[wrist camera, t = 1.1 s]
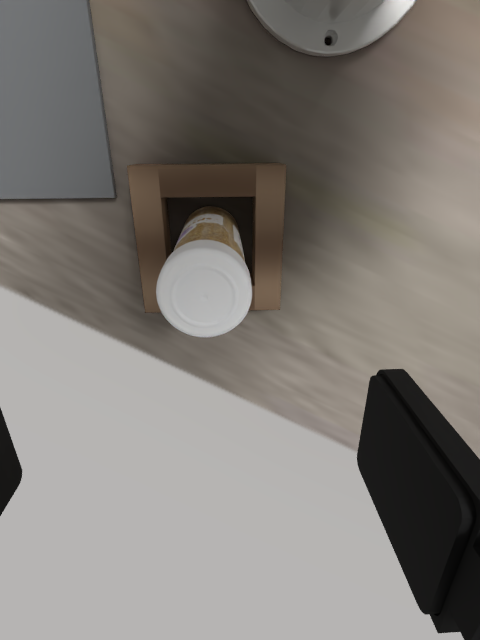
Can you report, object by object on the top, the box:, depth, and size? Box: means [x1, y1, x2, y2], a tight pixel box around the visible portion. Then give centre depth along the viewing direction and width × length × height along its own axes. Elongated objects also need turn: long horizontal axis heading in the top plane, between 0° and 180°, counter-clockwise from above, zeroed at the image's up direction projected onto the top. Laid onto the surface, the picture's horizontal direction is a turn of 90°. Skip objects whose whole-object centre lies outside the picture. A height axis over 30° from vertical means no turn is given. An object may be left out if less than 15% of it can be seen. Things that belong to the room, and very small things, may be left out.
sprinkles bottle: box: [156, 206, 252, 337], centre depth 23 cm, size 5×5×13 cm
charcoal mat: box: [0, 0, 117, 199], centre depth 25 cm, size 12×12×1 cm
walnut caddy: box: [127, 163, 286, 313], centre depth 28 cm, size 10×10×3 cm
